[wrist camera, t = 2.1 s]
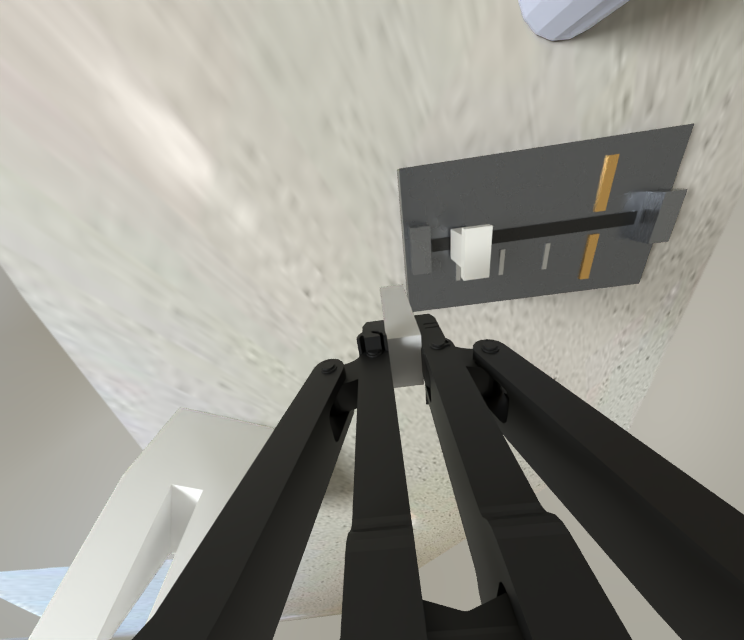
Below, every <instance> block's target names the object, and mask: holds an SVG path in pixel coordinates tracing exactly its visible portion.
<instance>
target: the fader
mask: <svg viewBox="0 0 744 640" xmlns="http://www.w3.org/2000/svg"><path fill="white" fill-rule="evenodd" d="M492 230H493V225H490V224H484V225H477V226H470V227H462V228H455V229H451V259H452V260H453V261H454V262H455V263H456V264H458V265H459V266H460V267H461V278H462V279H463V280H464V281H466V280H473V279H481V278H488V277H489V272H490V258H491V244H492Z"/></svg>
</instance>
